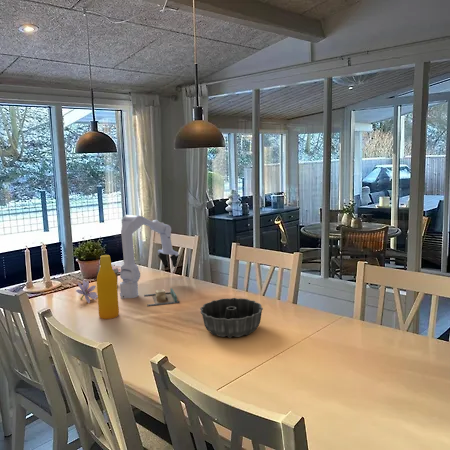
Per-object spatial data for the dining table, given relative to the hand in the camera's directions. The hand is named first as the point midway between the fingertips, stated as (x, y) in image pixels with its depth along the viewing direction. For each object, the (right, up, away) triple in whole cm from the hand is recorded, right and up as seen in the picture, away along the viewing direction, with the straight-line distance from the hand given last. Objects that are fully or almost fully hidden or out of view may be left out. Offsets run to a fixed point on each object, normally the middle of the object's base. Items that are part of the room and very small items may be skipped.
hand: (170, 265), depth 258 cm
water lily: (-40, -16, -27) cm, 51 cm away
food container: (-37, -12, -1) cm, 39 cm away
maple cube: (-1, -14, -31) cm, 34 cm away
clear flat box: (+1, -15, -31) cm, 34 cm away
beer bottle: (-22, -19, -51) cm, 59 cm away
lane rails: (-1, -15, -31) cm, 35 cm away
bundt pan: (+35, -21, -71) cm, 82 cm away
